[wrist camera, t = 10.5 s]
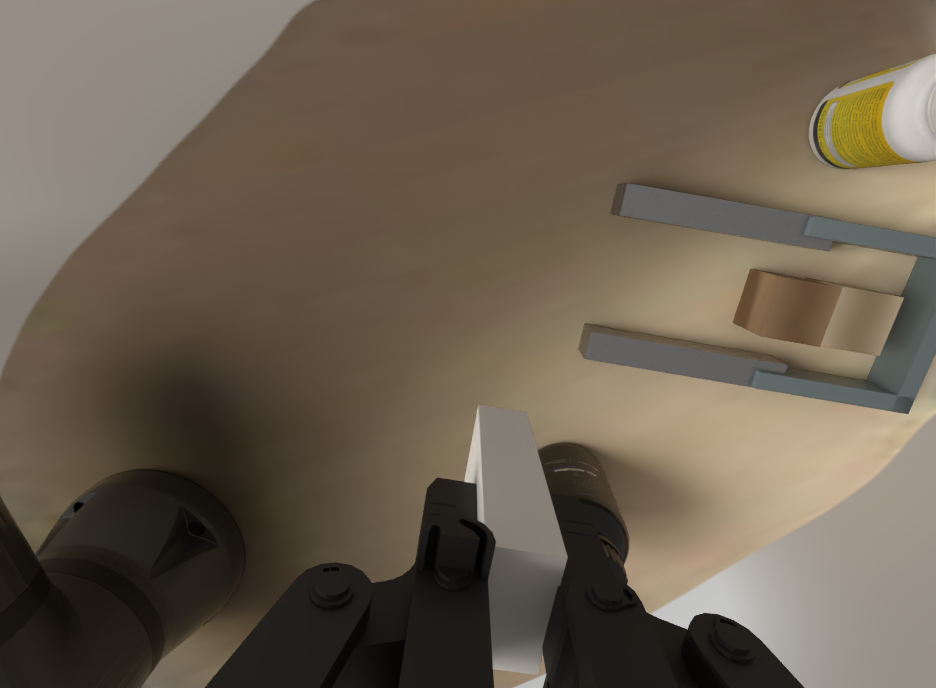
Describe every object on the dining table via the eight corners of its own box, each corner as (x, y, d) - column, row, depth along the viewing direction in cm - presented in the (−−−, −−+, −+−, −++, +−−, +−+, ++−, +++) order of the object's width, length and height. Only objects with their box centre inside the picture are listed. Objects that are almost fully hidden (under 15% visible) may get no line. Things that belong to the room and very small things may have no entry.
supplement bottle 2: (837, 187, 34) (973, 181, 24) (788, 128, 33) (910, 98, 23) (908, 125, 33) (1080, 92, 23) (859, 61, 32) (1017, 1, 22)
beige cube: (785, 330, 37) (820, 345, 33) (804, 277, 36) (843, 286, 32) (838, 340, 37) (879, 356, 33) (859, 287, 36) (904, 297, 32)
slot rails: (578, 348, 37) (584, 358, 35) (617, 184, 34) (627, 183, 32) (759, 379, 38) (778, 391, 35) (816, 218, 34) (840, 220, 32)
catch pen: (734, 374, 38) (754, 388, 35) (787, 215, 34) (814, 216, 31) (875, 397, 38) (908, 414, 35) (942, 242, 34) (983, 246, 32)
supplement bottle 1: (579, 425, 39) (618, 518, 28) (616, 492, 41) (668, 606, 29) (503, 463, 40) (510, 567, 29) (542, 526, 42) (563, 649, 30)
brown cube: (732, 322, 37) (760, 336, 33) (749, 268, 36) (781, 276, 32) (785, 331, 37) (819, 346, 33) (804, 278, 36) (842, 287, 32)
